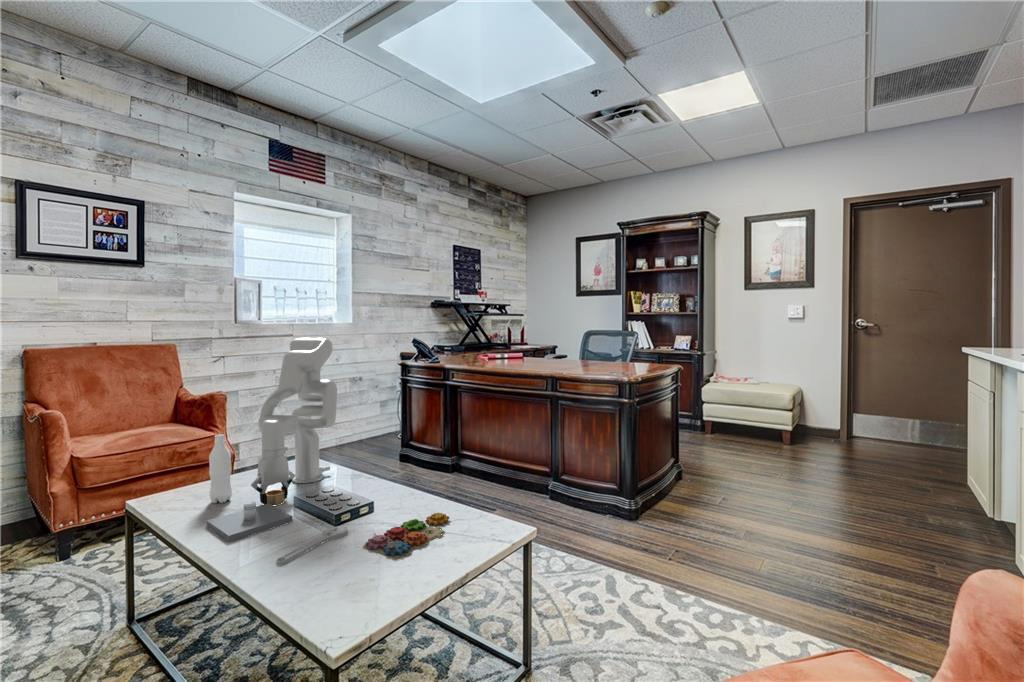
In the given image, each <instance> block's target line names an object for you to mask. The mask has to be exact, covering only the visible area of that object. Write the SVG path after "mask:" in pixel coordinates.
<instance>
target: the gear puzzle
mask: <svg viewBox="0 0 1024 682" xmlns="http://www.w3.org/2000/svg"><path fill="white" fill-rule="evenodd" d="M449 520H450V516H448V515H447V514H446V513H442V512H433V514H432V513H431V515H428V516H427V517H426V519H425V521H424V520H419V519H417V518H414V519H409V520H408V521H403V522H402V524H401V525H400V526H394V527H391V528H390V529H387V530H386V532H385V533H383V534H377V535H375V536H373V537H372V538H368V540H367V541H366V542H365V544H364V545H362V548H363V549H366V550H370V549H372V552H373V553H377V554H380V555H382V556H387V555H391V556H390V558H391V559H395V560H399V559H401V558H403V557H405V558H407V557H409V556H411V555H412V552H413V551H414V550H417V549H419V548H425V547H427V546H429V543H430V542H431V541H433V540H435V539H441V538H443V537H444V534H445V533H446V532H445V530H443V529H442V527H440V526H438V525H442V526H443V525H444V523H449ZM426 523H427V524H428V525H429V526H428V525H426ZM430 525H434V526H435V527H432V526H430ZM440 529H442V530H440ZM444 532H445V533H444ZM443 533H444V534H443ZM441 534H442V535H441ZM442 536H443V537H442ZM436 537H437V538H436Z"/></svg>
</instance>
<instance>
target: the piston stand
mask: <svg viewBox="0 0 1024 682" xmlns="http://www.w3.org/2000/svg"><path fill="white" fill-rule="evenodd" d="M293 521H294V520H293V515H292V514H290V513H288V512H285V511H284V510H282V509H280V508H278V507H277V506H272V505H270V504H264V505H263V504H261V505H258V506H257V502H256V501H254V500H253V501H246V502H244V503H243V510H240V511H236V512H232V513H229V514H225V515H221V516H217V517H214V518H211V519H207V520H206V527H207V528H208V529H210V530H211V531H212V532H214V533H216V534H217V535H218V536H219V537H221V538H222V539H223V540H225V541H227V542H228V543H231V542H233V541H237V540H240V539H242V537H243V538H246V537H245V536H247V537H249V536H248V535H250V536H253V535H256V534H259V533H263V532H265V530H266V531H269V530H271V529H270V528H272V529H274V528H273V527H275V528H278V527H281V526H284V525H283V524H285V525H287V524H286V523H288V524H290V522H291V523H293ZM280 525H281V526H280ZM277 526H278V527H277ZM268 529H269V530H268ZM258 532H259V533H258ZM255 533H256V534H255ZM252 534H253V535H252ZM239 538H240V539H239Z"/></svg>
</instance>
